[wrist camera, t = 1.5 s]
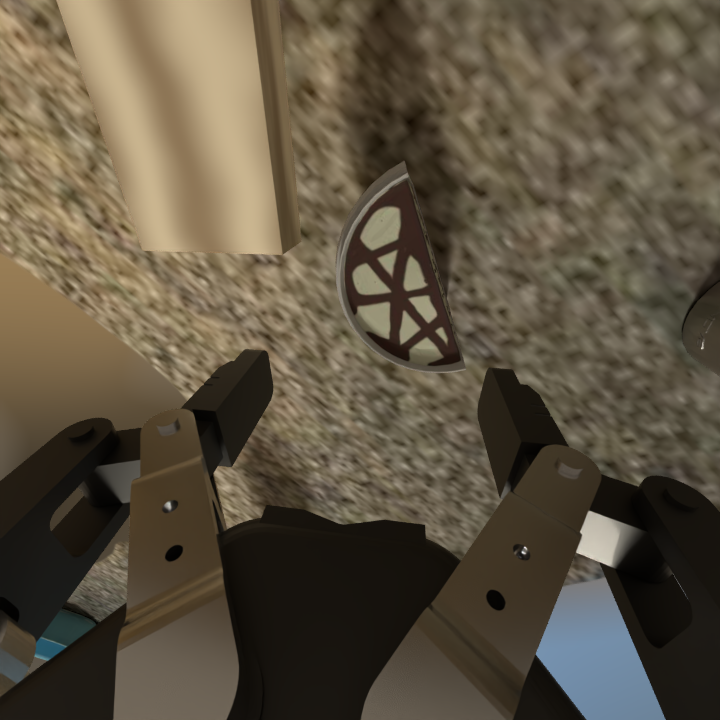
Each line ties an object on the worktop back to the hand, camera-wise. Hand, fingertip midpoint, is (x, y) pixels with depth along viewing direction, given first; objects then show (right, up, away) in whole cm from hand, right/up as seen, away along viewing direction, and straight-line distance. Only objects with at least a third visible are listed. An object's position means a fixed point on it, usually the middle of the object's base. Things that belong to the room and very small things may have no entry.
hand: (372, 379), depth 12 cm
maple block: (-11, +18, +12) cm, 24 cm away
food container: (+2, +9, +15) cm, 18 cm away
